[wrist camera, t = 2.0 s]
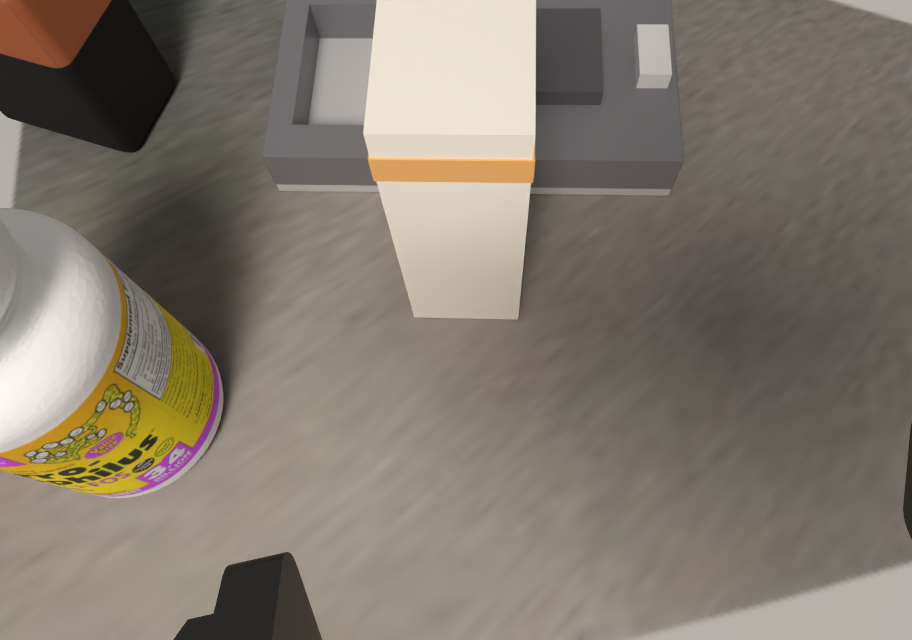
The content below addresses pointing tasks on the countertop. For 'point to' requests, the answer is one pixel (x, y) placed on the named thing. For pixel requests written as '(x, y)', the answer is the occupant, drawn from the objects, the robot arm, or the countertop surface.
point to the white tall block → (455, 148)
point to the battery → (81, 70)
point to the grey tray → (557, 98)
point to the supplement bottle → (94, 369)
